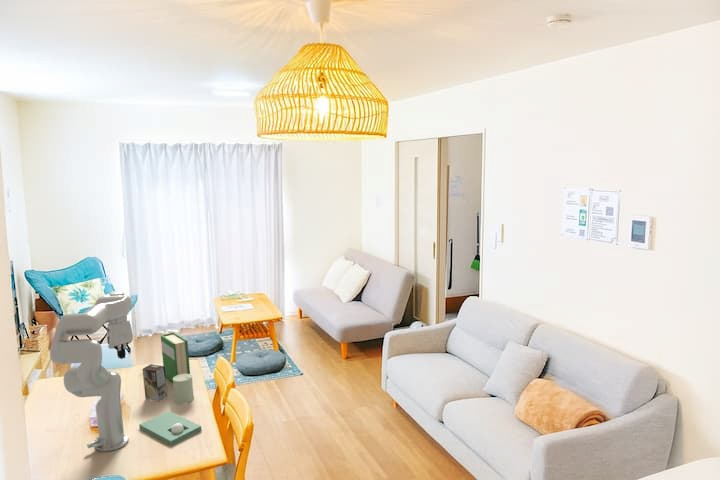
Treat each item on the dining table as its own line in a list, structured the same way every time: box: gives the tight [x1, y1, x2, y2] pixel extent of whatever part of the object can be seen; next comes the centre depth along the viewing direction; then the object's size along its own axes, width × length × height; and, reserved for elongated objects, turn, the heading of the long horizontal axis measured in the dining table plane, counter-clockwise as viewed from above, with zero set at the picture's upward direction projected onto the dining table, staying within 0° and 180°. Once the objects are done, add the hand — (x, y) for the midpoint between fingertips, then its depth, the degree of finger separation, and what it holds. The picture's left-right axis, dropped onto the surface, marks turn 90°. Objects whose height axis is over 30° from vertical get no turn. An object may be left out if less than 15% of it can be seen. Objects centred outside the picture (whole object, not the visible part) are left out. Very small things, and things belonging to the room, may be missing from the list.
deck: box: [138, 410, 202, 446], centre depth 234 cm, size 15×24×2 cm, turn 53°
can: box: [172, 373, 195, 405], centre depth 262 cm, size 9×9×12 cm
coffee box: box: [142, 363, 168, 403], centre depth 264 cm, size 9×6×16 cm
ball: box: [171, 423, 184, 435], centre depth 229 cm, size 5×5×5 cm
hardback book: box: [160, 331, 191, 385], centre depth 283 cm, size 18×7×24 cm, turn 41°
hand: (121, 357), depth 241 cm, fingers closed
